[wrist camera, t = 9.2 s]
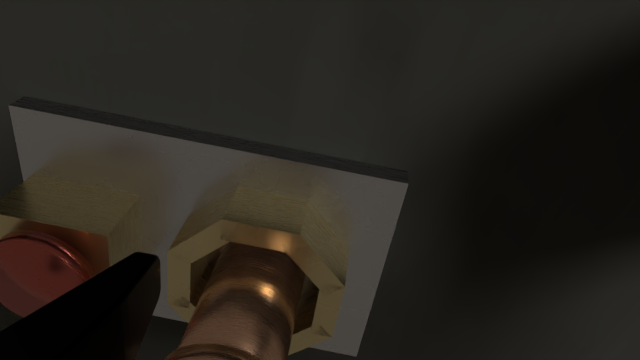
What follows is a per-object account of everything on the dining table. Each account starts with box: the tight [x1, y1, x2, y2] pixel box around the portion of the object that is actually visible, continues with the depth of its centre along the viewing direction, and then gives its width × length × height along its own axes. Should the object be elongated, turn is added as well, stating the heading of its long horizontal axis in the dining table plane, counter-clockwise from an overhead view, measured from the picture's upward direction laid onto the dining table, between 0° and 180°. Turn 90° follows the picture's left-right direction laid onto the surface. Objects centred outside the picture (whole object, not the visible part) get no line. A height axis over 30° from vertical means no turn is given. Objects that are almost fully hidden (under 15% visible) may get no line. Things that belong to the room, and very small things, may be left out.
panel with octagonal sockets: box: [0, 97, 409, 357], centre depth 22 cm, size 17×11×5 cm, turn 81°
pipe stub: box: [163, 241, 305, 360], centre depth 19 cm, size 5×5×8 cm
